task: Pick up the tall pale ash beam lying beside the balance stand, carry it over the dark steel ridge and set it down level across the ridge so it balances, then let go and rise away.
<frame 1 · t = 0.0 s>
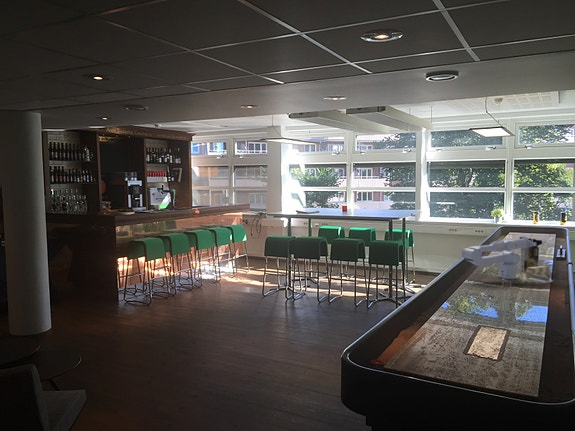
hand: (536, 241, 280), 22 cm above the table, tool horizontal, fingers open, 7 cm apart
coffee box: (528, 270, 299), on the table
balance stand: (540, 280, 267), on the table
ash beam: (537, 276, 280), on the table
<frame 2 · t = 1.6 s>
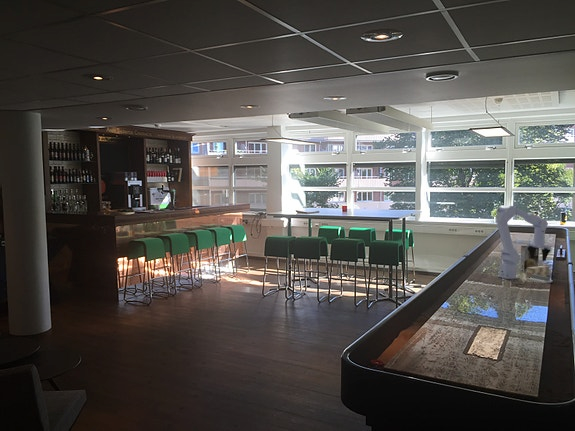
hand: (538, 259, 280), 10 cm above the table, tool pointing down, fingers open, 7 cm apart
nothing on the table moved.
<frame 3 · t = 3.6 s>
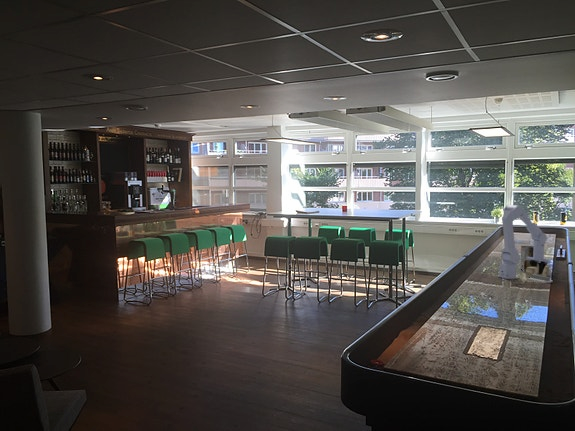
hand: (537, 273, 280), 2 cm above the table, tool pointing down, fingers closed on ash beam, 3 cm apart
ash beam: (537, 276, 280), on the table, touching gripper
everything else where it was.
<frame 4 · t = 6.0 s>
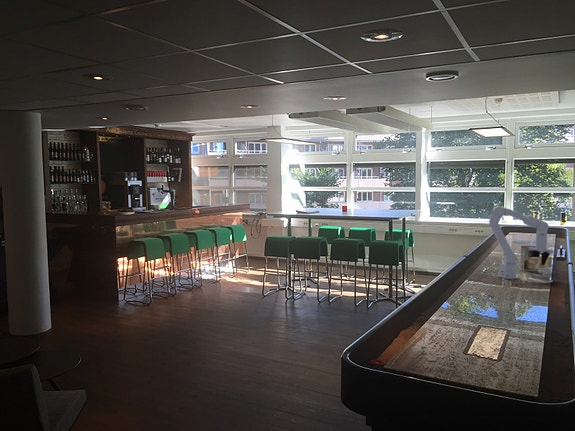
hand: (540, 264, 270), 9 cm above the table, tool pointing down, fingers closed on ash beam, 3 cm apart
ash beam: (540, 267, 270), point 7 cm above the table, touching gripper
everything else where it was.
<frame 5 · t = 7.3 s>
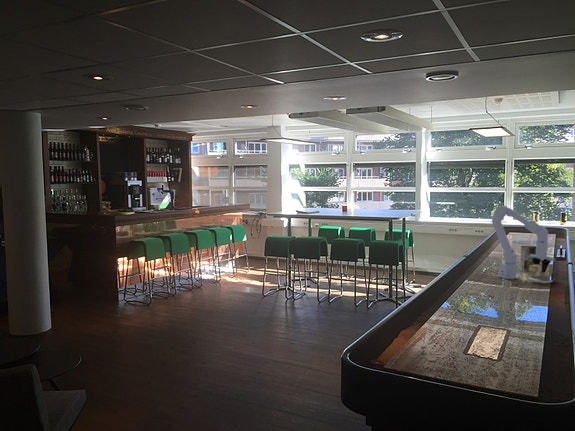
hand: (540, 271, 267), 5 cm above the table, tool pointing down, fingers closed on ash beam, 3 cm apart
ash beam: (540, 274, 267), point 4 cm above the table, touching gripper
everything else where it was.
when the fingers open (5 cm above the table, at t = 8.6 s): ash beam stays where it is, resting on balance stand.
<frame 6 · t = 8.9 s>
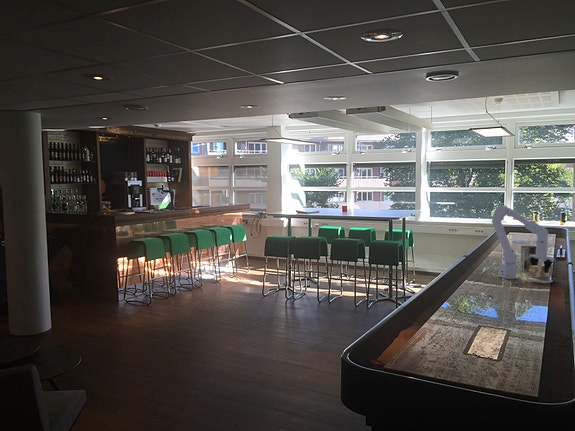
hand: (540, 271, 267), 5 cm above the table, tool pointing down, fingers open, 6 cm apart
ash beam: (540, 275, 267), point 3 cm above the table, touching balance stand
everything else where it was.
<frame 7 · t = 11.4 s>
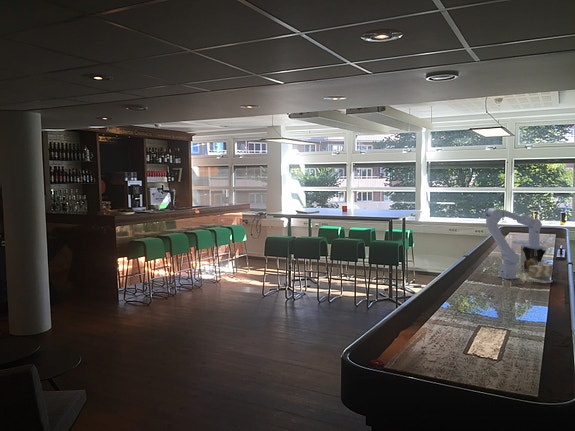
hand: (533, 260, 275), 10 cm above the table, tool pointing down, fingers open, 7 cm apart
nothing on the table moved.
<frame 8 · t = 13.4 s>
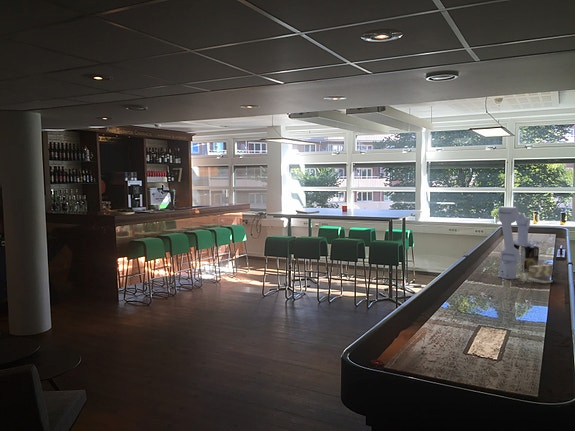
hand: (521, 257, 287), 10 cm above the table, tool pointing down, fingers open, 7 cm apart
nothing on the table moved.
at the end: ash beam 0.1 cm off-centre on the balance stand, point 3.0 cm above the balance stand's base; ash beam tilted 0°; ash beam touching balance stand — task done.
